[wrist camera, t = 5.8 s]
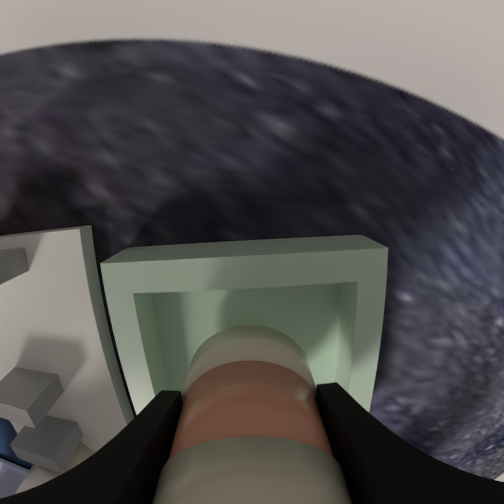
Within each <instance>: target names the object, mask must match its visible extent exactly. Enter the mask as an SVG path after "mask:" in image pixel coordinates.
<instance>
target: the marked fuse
mask: <svg viewBox="0 0 504 504" xmlns="http://www.w3.org/2000/svg"><path fill="white" fill-rule="evenodd" d="M316 394H317V389H316V385H315V382H314V379H313V376H312V373H311V369H310V366H309V363H308V360H307V358H306V355H305V354H304V352H303V350H302V349H301V348H300V346H299V345H298V344H297V343H296V342H295V341H294V340H293V339H291V338H290V337H289V336H287V335H285V334H284V333H282V332H280V331H277V330H274V329H272V328H268V327H264V326H256V325H244V326H236V327H232V328H228V329H225V330H222V331H220V332H218V333H216V334H214V335H212V336H211V337H209V338H208V339H207V340H206V341H204V342H203V343H202V344H201V346H200V347H199V348H198V349H197V351H196V352H195V354H194V356H193V358H192V361H191V364H190V368H189V371H188V374H187V378H186V381H185V385H184V388H183V392H182V395H181V397H182V402H183V405H182V409H181V413H180V416H179V420H178V424H177V428H176V432H175V436H174V439H173V443H172V447H171V451H170V455H169V459H168V461H167V462H166V463H165V465H164V466H163V468H162V470H161V472H160V476H159V480H158V484H157V487H156V491H155V495H154V499H153V503H152V504H352V500H351V497H350V494H349V490H348V487H347V484H346V480H345V477H344V474H343V471H342V468H341V466H340V464H339V463H338V462H337V460H336V459H335V458H334V456H333V453H332V449H331V446H330V443H329V439H328V436H327V433H326V429H325V426H324V423H323V419H322V416H321V413H320V409H319V406H318V403H317V399H316Z"/></svg>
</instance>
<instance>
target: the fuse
mask: <svg viewBox="0 0 504 504" xmlns="http://www.w3.org/2000/svg"><path fill="white" fill-rule="evenodd" d="M94 453H95V452H94V451H93V450H92V449H90V448H89V447H87V446H86V445H84V444H82V443H81V442H79V444H78V446H77V447H76V449H75V451H74V453H73V455H72V456H71V458H70V460H69V462H68V464H67V465H66V467H65V469H64V471H63V473H65V472H67V471H68V470H70V469H72V468H73V467H75V466H77V465H78V464H80V463H81V462H83V461H84V460H86V459H87V458H89V457H90V456H91V455H93V454H94ZM63 473H60V472H56V471H53V470H50V469H47V468H44V467H41V466H38V465H35V464H33V466H32V467H31V469H30V470H29V472H28V473H27V475H26V477H25V478H24V480H23V482H22V483H21V485H20V486H19V488H18V490H17V491H16V493H15V494H17V493H20V492H23V491H26V490H29V489H31V488H34V487H36V486H39V485H41V484H43V483H45V482H47V481H49V480H51V479H53V478H55V477H57V476H59V475H61V474H63ZM12 495H14V494H12Z"/></svg>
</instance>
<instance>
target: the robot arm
mask: <svg viewBox="0 0 504 504" xmlns="http://www.w3.org/2000/svg"><path fill="white" fill-rule="evenodd" d="M316 389H317V394H316V399H317V403H318V406H319V409H320V413H321V416H322V419H323V423H324V426H325V429H326V433H327V436H328V439H329V443H330V446H331V449H332V453H333V456H334V458H335V459H336V460H337V462H338V463H339V464H340V466H341V468H342V471H343V474H344V477H345V480H346V484H347V487H348V490H349V494H350V497H351V500H352V504H504V482H500V481H495V480H492V479H488V478H484V477H481V476H477V475H474V474H471V473H468V472H465V471H463V470H460V469H458V468H455V467H453V466H450V465H448V464H446V463H443V462H441V461H439V460H437V459H435V458H433V457H431V456H429V455H428V454H426V453H424V452H422V451H421V450H419V449H417V448H415V447H414V446H412V445H410V444H409V443H407V442H406V441H404V440H403V439H401V438H400V437H399V436H397V435H396V434H395V433H393V432H392V431H391V430H389V429H388V428H387V427H385V426H384V425H383V424H382V423H381V422H379V421H378V420H377V419H376V418H375V417H373V416H372V415H371V414H370V413H369V412H368V411H367V410H365V409H364V408H363V407H362V406H361V405H360V404H359V403H358V402H357V401H356V400H355V399H354V398H353V397H352V396H351V395H350V394H349V393H348V392H347V391H346V390H345V389H344V388H343V387H341V386H340V385H339V384H338V383H337V382H333V383H325V384H317V386H316ZM181 395H182V394H181V391H172V390H161V391H160V392H159V393H158V394H157V395H156V396H155V397H154V398H153V399H152V400H151V401H150V402H149V403H148V404H147V405H146V406H145V407H144V408H143V410H142V411H141V412H140V413H139V414H138V415H137V416H136V417H135V418H134V419H133V420H132V421H131V422H130V423H129V424H127V425H126V426H125V427H124V428H123V429H122V430H121V431H120V432H119V433H118V434H117V435H116V436H115V437H113V438H112V439H111V440H110V441H109V442H108V443H106V444H105V445H104V446H103V447H102V448H101V449H99V450H98V451H97V452H95V453H94V454H93V455H91V456H90V457H89V458H87V459H86V460H84V461H83V462H81V463H80V464H78V465H77V466H75V467H73V468H72V469H70V470H68V471H67V472H65V473H63V474H61V475H59V476H57V477H55V478H53V479H51V480H49V481H47V482H45V483H43V484H41V485H39V486H36V487H34V488H31V489H29V490H26V491H23V492H20V493H17V494H15V493H16V491H17V490H18V488H19V486H20V485H21V483H22V482H23V480H24V478H25V477H26V475H27V473H28V472H29V470H28V469H26V468H23V467H21V466H18V465H16V464H13V463H11V462H9V461H6V460H4V459H2V458H0V504H152V503H153V499H154V495H155V491H156V487H157V484H158V480H159V476H160V472H161V470H162V468H163V466H164V465H165V463H166V462H167V461H168V459H169V455H170V451H171V447H172V443H173V439H174V436H175V432H176V428H177V424H178V420H179V416H180V413H181V409H182V405H183V402H182V397H181ZM12 494H14V495H12Z"/></svg>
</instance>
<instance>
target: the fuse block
mask: <svg viewBox="0 0 504 504" xmlns="http://www.w3.org/2000/svg"><path fill="white" fill-rule="evenodd" d="M0 417H1V418H4V419H7V420H9V421H11V423H12V425H13V427H14V429H15V431H16V432H17V436H16V437H15V438H14V440H13V441H12V442H11V444H10V446H11V448H12V449H13V451H14V453H15V454H16V456H17V457H18V458H19V459H21V460H24V461H27V462H29V463H32V464H35V465H38V466H41V467H44V468H47V469H50V470H53V471H56V472H60V473H63V471H64V469H65V467H66V465H67V464H68V462H69V460H70V458H71V456H72V455H73V453H74V451H75V449H76V447H77V446H78V444H79V442H81V443H82V444H84V445H86V446H87V447H89V448H90V449H92V450H93V451H94V452H97V451H98V450H99V449H101V448H102V447H103V446H104V445H105V444H106V443H108V442H109V441H110V440H111V439H112V438H113V437H115V436H116V435H117V434H118V433H119V432H120V431H121V430H122V429H123V428H124V427H125V426H126V425H127V424H129V423H130V422H131V421H132V420H133V419H134V415H133V412H132V409H131V406H130V403H129V400H128V397H127V394H126V391H125V387H124V384H123V381H122V377H121V374H120V370H119V367H118V363H117V359H116V355H115V352H114V348H113V344H112V340H111V335H110V331H109V327H108V322H107V318H106V313H105V308H104V304H103V298H102V293H101V288H100V282H99V277H98V271H97V264H96V258H95V251H94V244H93V236H92V227H91V225H87V226H78V227H68V228H59V229H51V230H42V231H34V232H26V233H18V234H10V235H3V236H0Z"/></svg>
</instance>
